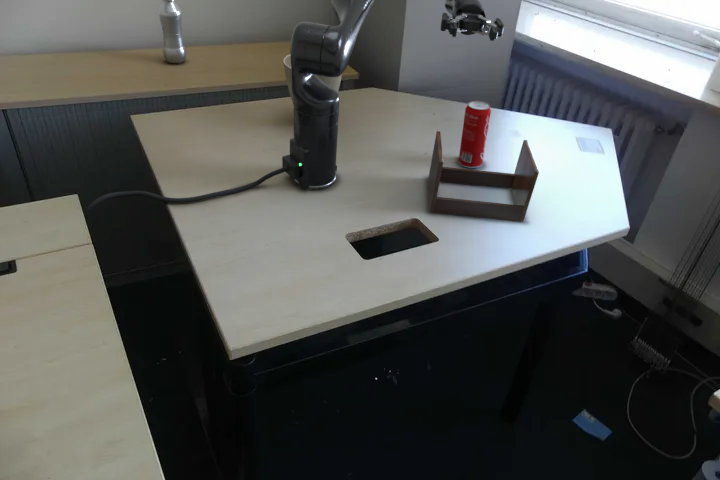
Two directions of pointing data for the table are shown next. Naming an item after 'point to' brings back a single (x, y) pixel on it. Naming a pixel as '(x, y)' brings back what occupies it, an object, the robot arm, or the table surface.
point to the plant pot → (330, 81)
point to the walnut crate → (517, 182)
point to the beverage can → (474, 134)
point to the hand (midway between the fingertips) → (474, 34)
